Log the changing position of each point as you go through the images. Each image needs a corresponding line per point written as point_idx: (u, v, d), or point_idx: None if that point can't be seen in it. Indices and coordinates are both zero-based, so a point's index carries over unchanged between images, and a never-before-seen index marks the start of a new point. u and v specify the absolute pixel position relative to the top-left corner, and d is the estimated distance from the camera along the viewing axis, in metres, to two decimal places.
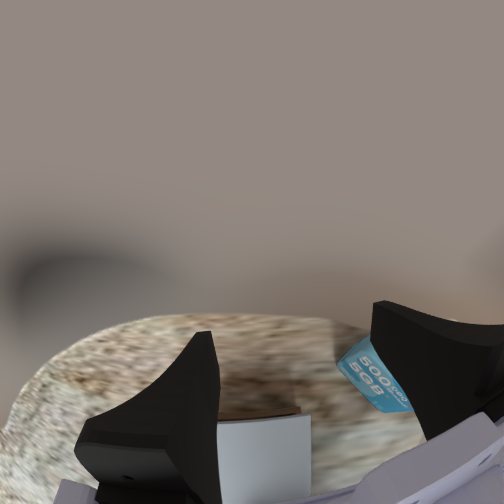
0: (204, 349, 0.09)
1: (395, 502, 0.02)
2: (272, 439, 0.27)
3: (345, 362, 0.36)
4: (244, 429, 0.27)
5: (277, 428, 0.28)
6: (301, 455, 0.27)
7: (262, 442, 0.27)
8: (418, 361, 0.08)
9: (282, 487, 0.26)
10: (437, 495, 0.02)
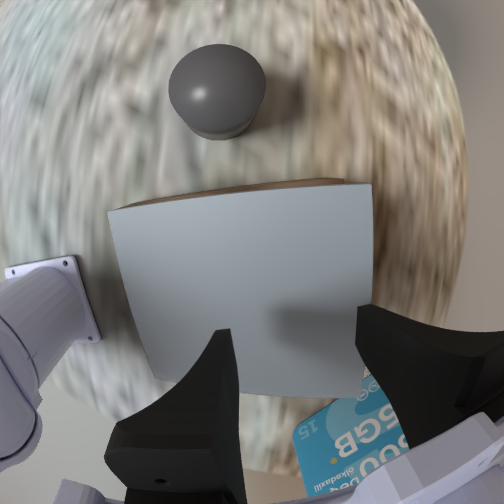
0: (227, 346, 0.09)
1: (395, 502, 0.02)
2: (316, 337, 0.14)
3: None
4: (354, 280, 0.12)
5: (343, 347, 0.13)
6: (263, 381, 0.15)
7: (310, 317, 0.13)
8: (400, 368, 0.08)
9: (177, 341, 0.16)
10: (437, 495, 0.02)
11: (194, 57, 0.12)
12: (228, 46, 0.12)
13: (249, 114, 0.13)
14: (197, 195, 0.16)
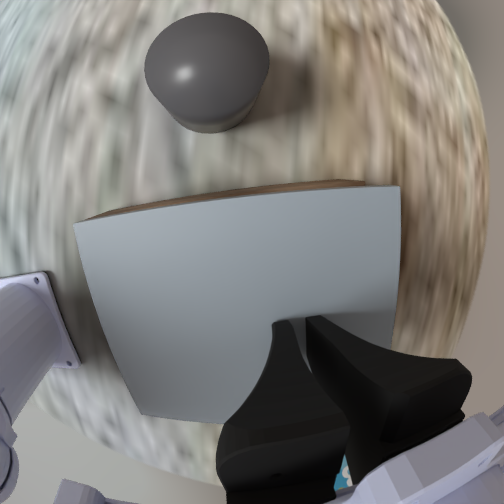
0: (295, 336, 0.09)
1: (395, 502, 0.02)
2: None
3: None
4: (379, 295, 0.11)
5: None
6: None
7: None
8: (338, 387, 0.08)
9: (167, 375, 0.13)
10: (437, 495, 0.02)
11: (178, 28, 0.09)
12: (222, 14, 0.09)
13: (248, 96, 0.10)
14: (181, 202, 0.12)
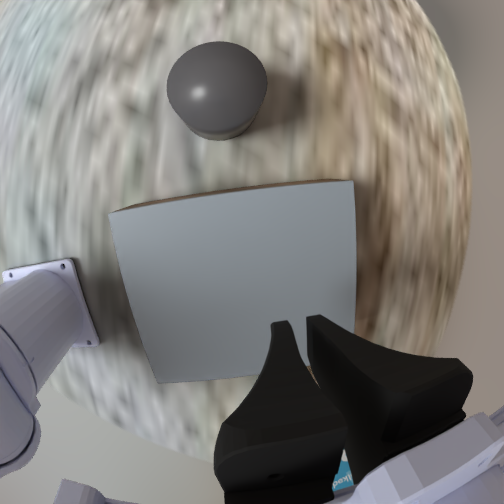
0: (294, 336, 0.09)
1: (395, 502, 0.02)
2: (316, 306, 0.17)
3: None
4: (343, 255, 0.16)
5: (337, 312, 0.17)
6: None
7: (311, 290, 0.17)
8: (339, 386, 0.08)
9: (186, 337, 0.17)
10: (437, 495, 0.02)
11: (193, 55, 0.12)
12: (228, 43, 0.12)
13: (250, 113, 0.13)
14: None
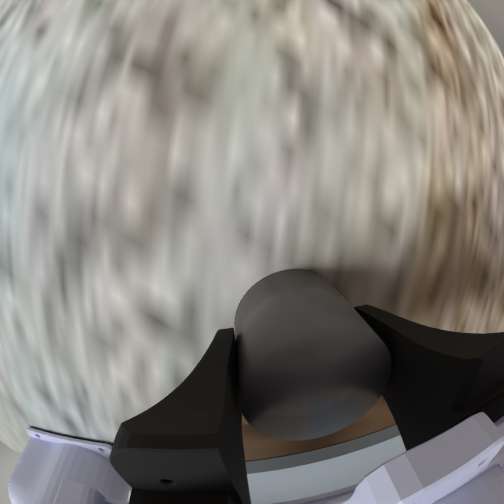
0: (231, 346, 0.09)
1: (395, 502, 0.02)
2: None
3: None
4: None
5: None
6: None
7: None
8: (397, 369, 0.08)
9: None
10: (437, 495, 0.02)
11: (286, 356, 0.07)
12: (351, 332, 0.07)
13: (356, 419, 0.09)
14: (270, 456, 0.11)
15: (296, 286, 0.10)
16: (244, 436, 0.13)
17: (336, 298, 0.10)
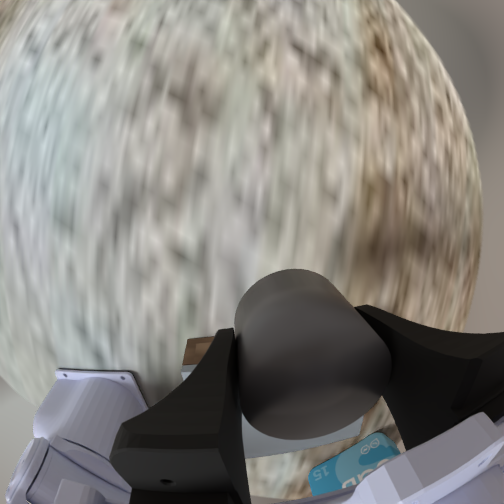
0: (231, 346, 0.09)
1: (395, 502, 0.02)
2: None
3: (390, 453, 0.23)
4: None
5: None
6: (301, 443, 0.21)
7: None
8: (397, 369, 0.08)
9: None
10: (437, 495, 0.02)
11: (286, 355, 0.07)
12: (351, 331, 0.07)
13: (356, 418, 0.09)
14: None
15: (296, 285, 0.10)
16: None
17: (336, 297, 0.10)
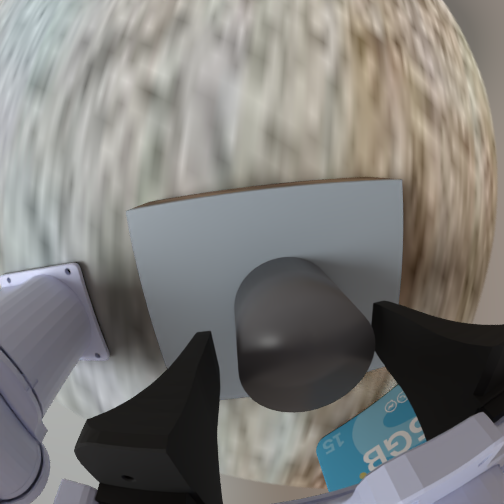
0: (204, 349, 0.09)
1: (395, 502, 0.02)
2: None
3: None
4: (390, 259, 0.14)
5: None
6: None
7: (356, 298, 0.15)
8: (418, 361, 0.08)
9: (216, 353, 0.15)
10: (437, 495, 0.02)
11: (278, 327, 0.09)
12: (334, 305, 0.09)
13: (346, 392, 0.10)
14: None
15: (288, 270, 0.12)
16: (209, 193, 0.15)
17: (323, 280, 0.11)
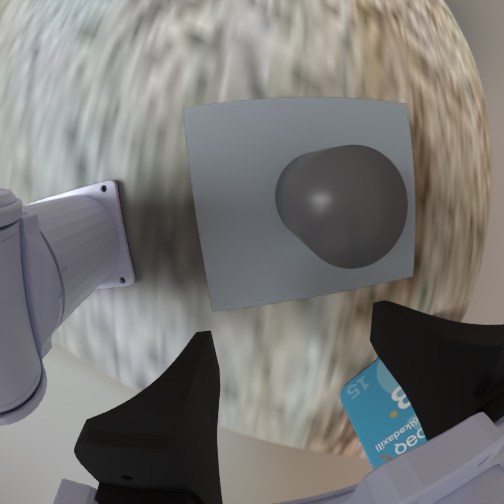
0: (204, 349, 0.09)
1: (395, 502, 0.02)
2: None
3: None
4: (404, 166, 0.15)
5: None
6: (341, 273, 0.17)
7: None
8: (418, 361, 0.08)
9: (255, 245, 0.16)
10: (437, 495, 0.02)
11: (330, 163, 0.10)
12: (371, 150, 0.10)
13: (389, 249, 0.11)
14: None
15: None
16: None
17: None
